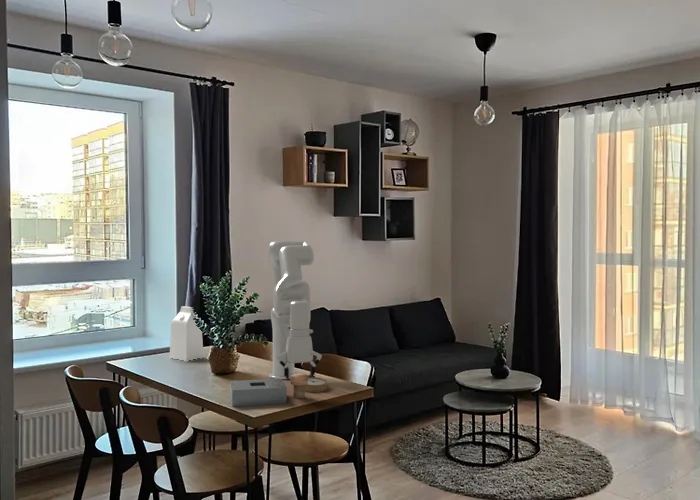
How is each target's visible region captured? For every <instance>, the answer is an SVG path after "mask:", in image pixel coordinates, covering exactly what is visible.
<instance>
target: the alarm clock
mask: <svg viewBox="0 0 700 500" xmlns="http://www.w3.org/2000/svg"><path fill="white" fill-rule="evenodd" d="M307 375H308V384H306V385H305V393H306V392H307V393H319V392H320V391H321V392H324V390H325V391H326V390H327V388H329V387H330V386H329V385H327V383H328V381H327V380H326V379H324V378H322V377H316V375H313V377H311V376H310V374H307Z"/></svg>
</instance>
